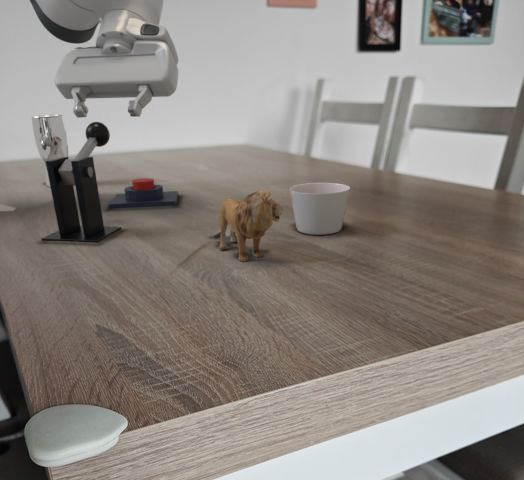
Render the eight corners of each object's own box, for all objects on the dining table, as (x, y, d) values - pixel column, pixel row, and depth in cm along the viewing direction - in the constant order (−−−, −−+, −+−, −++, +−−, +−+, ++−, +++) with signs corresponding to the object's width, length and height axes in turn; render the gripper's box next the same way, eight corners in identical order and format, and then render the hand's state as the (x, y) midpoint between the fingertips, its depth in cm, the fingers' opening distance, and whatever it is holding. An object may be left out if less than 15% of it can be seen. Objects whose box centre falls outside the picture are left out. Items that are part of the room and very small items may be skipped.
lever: (95, 138, 88) (87, 117, 86) (116, 138, 88) (108, 117, 85) (61, 188, 80) (51, 166, 78) (84, 188, 80) (74, 166, 77)
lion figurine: (289, 260, 72) (288, 189, 68) (255, 268, 69) (252, 195, 65) (229, 238, 83) (225, 175, 79) (198, 244, 80) (193, 180, 76)
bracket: (71, 232, 88) (56, 155, 83) (122, 234, 86) (111, 155, 81) (42, 246, 81) (24, 162, 76) (98, 248, 79) (83, 163, 74)
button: (131, 192, 102) (130, 182, 101) (134, 188, 105) (133, 178, 104) (153, 191, 102) (152, 181, 101) (155, 187, 105) (154, 177, 105)
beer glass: (53, 188, 125) (39, 117, 118) (38, 185, 129) (24, 116, 122) (81, 184, 129) (69, 114, 123) (65, 181, 134) (53, 114, 127)
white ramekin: (338, 221, 90) (339, 181, 87) (356, 235, 82) (358, 191, 79) (284, 225, 89) (284, 184, 86) (297, 239, 81) (297, 195, 78)
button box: (109, 213, 100) (106, 194, 98) (118, 202, 109) (115, 184, 107) (176, 210, 101) (174, 190, 99) (179, 199, 110) (177, 181, 108)
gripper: (58, 33, 91) (36, 101, 87) (175, 26, 86) (158, 98, 82) (77, 63, 97) (57, 128, 93) (187, 59, 92) (172, 127, 88)
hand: (106, 114), depth 87 cm, fingers open, 8 cm apart
